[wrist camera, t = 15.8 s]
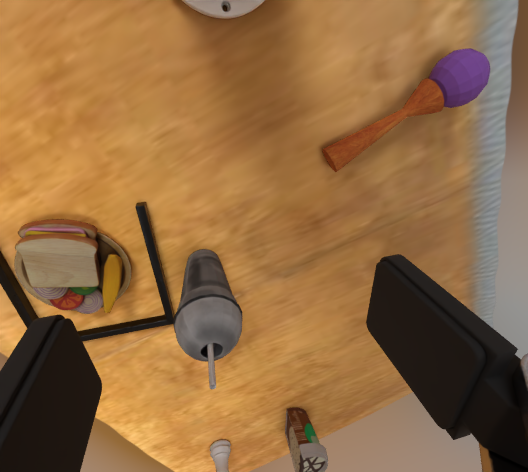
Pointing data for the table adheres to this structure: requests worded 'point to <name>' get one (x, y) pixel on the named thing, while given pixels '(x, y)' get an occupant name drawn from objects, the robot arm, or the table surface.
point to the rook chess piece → (220, 455)
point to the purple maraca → (422, 101)
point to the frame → (5, 277)
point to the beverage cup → (207, 312)
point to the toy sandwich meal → (71, 265)
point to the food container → (304, 443)
